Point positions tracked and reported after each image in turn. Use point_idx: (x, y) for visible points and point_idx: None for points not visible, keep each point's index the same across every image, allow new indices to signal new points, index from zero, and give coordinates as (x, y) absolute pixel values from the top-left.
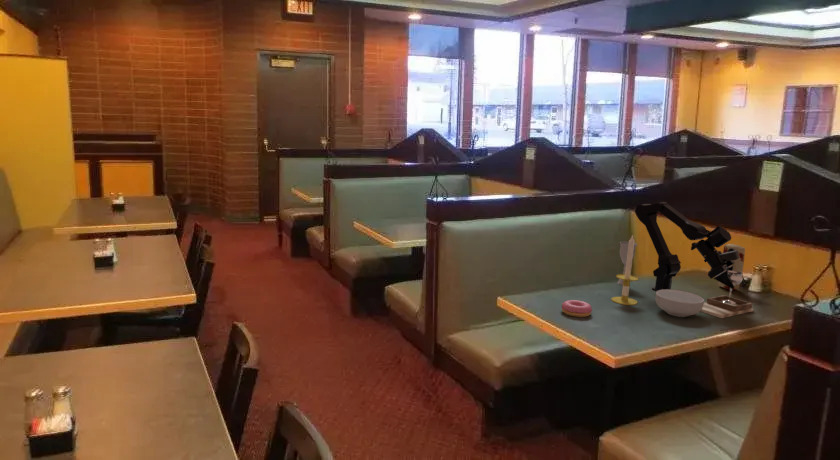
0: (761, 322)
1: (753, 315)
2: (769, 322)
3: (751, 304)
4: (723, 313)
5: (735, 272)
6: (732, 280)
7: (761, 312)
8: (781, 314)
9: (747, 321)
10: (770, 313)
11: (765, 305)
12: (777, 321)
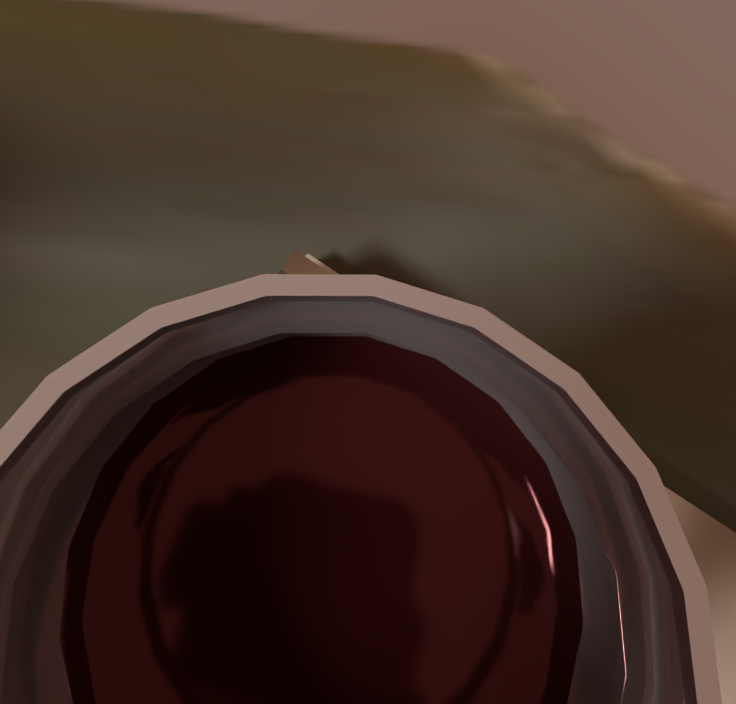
0: (656, 225)
1: (464, 272)
2: (606, 162)
3: (309, 262)
4: (717, 565)
5: (3, 552)
6: (578, 602)
7: (305, 194)
8: (265, 41)
9: (714, 339)
10: (290, 123)
11: (6, 134)
12: (526, 98)
